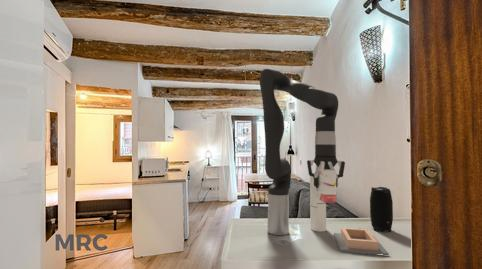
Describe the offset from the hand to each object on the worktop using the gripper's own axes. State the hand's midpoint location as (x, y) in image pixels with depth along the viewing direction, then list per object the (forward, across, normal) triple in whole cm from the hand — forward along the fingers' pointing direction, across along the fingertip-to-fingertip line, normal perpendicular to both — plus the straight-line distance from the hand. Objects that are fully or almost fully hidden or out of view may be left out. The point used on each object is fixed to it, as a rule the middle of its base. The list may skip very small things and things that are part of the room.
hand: (325, 187), depth 94 cm
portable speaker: (+23, +28, +31) cm, 48 cm away
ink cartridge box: (+5, 0, 0) cm, 5 cm away
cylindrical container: (+23, -1, +25) cm, 34 cm away
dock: (+23, +13, +9) cm, 28 cm away
